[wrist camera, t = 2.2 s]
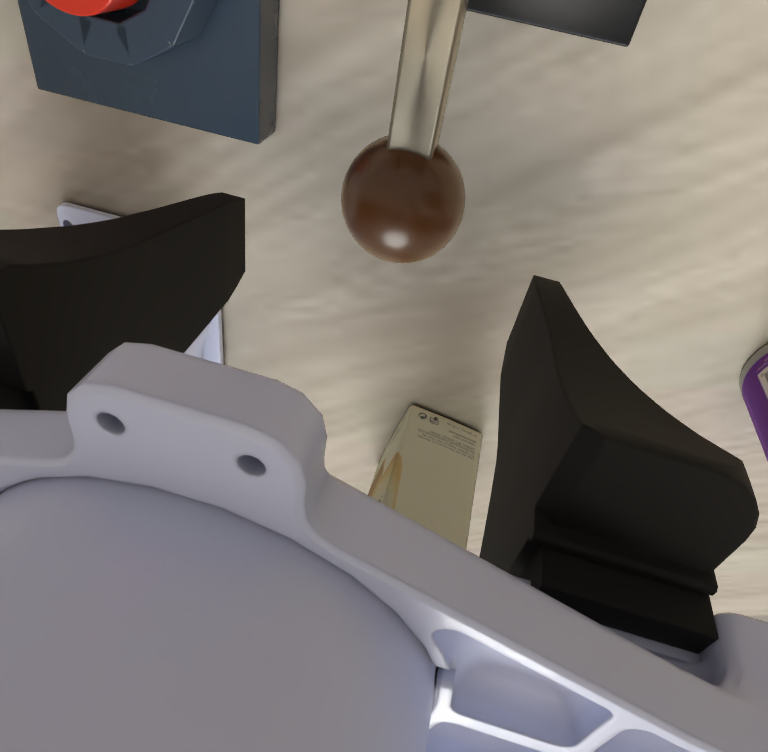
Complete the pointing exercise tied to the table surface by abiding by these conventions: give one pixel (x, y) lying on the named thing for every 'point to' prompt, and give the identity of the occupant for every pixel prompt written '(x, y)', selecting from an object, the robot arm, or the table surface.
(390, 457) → the cosmetic box
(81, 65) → the button box
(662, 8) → the table surface
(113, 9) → the button
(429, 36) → the lever
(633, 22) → the switch bracket
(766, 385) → the container
